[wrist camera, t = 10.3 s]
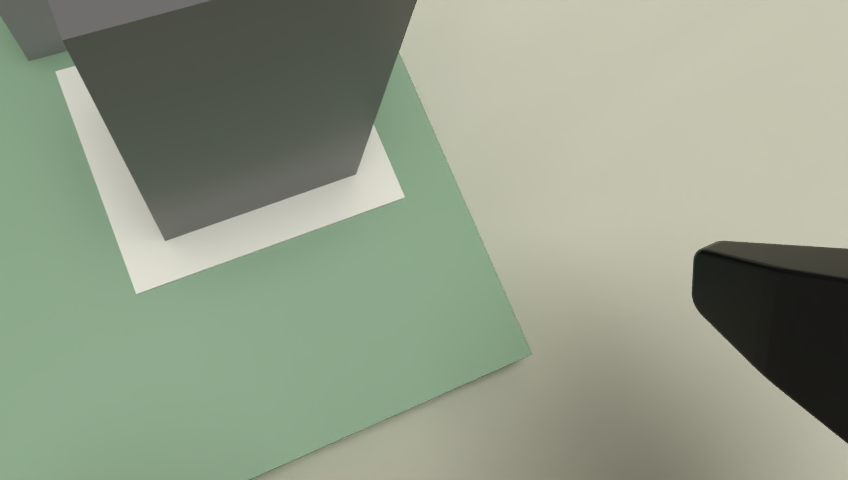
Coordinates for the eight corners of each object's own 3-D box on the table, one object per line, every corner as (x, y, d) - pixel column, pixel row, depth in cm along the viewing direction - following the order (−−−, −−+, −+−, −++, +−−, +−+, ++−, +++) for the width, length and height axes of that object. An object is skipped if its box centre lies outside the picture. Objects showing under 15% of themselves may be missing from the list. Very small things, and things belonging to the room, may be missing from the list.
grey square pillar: (356, 174, 20) (437, -61, 11) (165, 241, 19) (62, 39, 9) (299, 40, 21) (327, -297, 11) (109, 95, 19) (-41, -236, 10)
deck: (517, 358, 21) (576, 340, 17) (-26, 599, 17) (-114, 648, 13) (278, -189, 24) (281, -314, 20) (-238, -84, 20) (-365, -214, 16)
